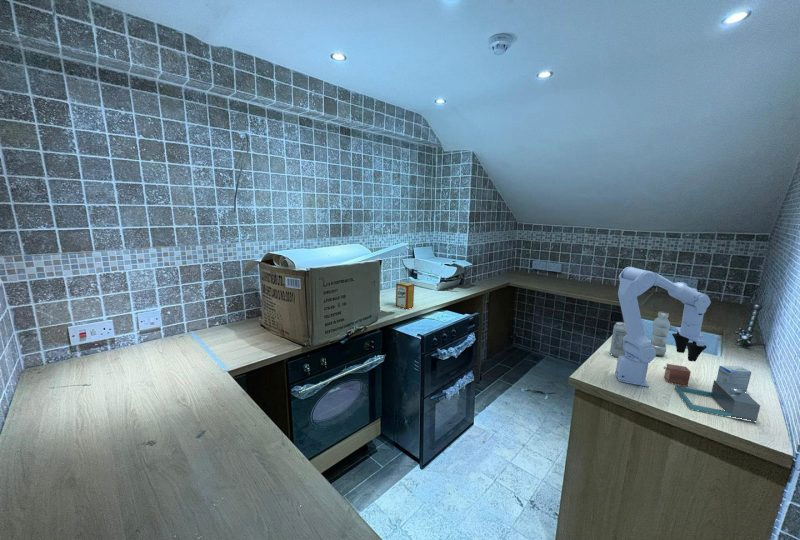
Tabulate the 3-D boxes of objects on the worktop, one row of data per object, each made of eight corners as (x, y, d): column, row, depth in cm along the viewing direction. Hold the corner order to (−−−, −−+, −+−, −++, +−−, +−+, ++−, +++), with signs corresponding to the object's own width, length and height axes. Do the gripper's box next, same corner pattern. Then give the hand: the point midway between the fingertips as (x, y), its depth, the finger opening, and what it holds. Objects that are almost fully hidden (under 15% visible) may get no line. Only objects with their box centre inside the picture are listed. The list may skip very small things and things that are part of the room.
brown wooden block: (663, 382, 127) (666, 367, 126) (659, 376, 131) (662, 362, 130) (687, 386, 124) (690, 371, 123) (683, 381, 128) (685, 366, 127)
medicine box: (734, 386, 125) (739, 365, 123) (746, 393, 121) (752, 371, 119) (714, 386, 125) (719, 365, 123) (726, 393, 120) (731, 370, 119)
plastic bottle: (649, 355, 151) (656, 313, 147) (646, 350, 157) (653, 309, 153) (666, 358, 148) (674, 316, 144) (663, 353, 154) (670, 312, 150)
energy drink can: (624, 354, 151) (629, 323, 148) (625, 359, 146) (631, 327, 143) (609, 351, 154) (614, 320, 151) (609, 356, 149) (614, 324, 146)
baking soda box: (413, 307, 213) (414, 283, 210) (406, 309, 208) (407, 285, 206) (402, 304, 219) (402, 281, 217) (395, 306, 215) (396, 282, 212)
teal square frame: (689, 409, 109) (693, 389, 108) (674, 389, 122) (677, 371, 121) (755, 423, 103) (761, 402, 102) (732, 400, 116) (736, 381, 114)
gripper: (717, 330, 117) (710, 366, 119) (692, 317, 130) (687, 349, 133) (693, 328, 118) (687, 364, 121) (671, 316, 132) (666, 348, 135)
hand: (685, 356), depth 127 cm, fingers open, 7 cm apart
